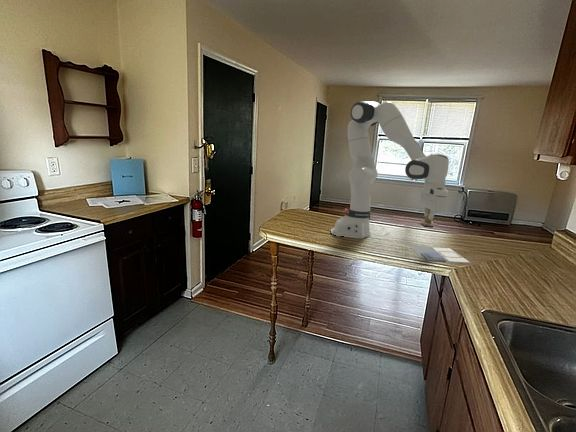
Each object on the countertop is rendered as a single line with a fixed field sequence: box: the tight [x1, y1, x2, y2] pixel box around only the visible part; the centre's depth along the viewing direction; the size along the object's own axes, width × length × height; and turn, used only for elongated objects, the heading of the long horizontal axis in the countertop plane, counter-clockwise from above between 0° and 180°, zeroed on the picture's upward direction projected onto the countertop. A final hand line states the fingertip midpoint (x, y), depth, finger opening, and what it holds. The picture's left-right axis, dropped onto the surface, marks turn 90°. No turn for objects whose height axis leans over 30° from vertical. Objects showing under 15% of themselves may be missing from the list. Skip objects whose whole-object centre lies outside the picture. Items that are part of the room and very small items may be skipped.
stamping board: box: [409, 245, 473, 264], centre depth 147 cm, size 20×20×2 cm
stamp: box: [420, 209, 435, 228], centre depth 149 cm, size 4×4×8 cm
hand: (428, 217), depth 149 cm, fingers closed on stamp, 3 cm apart
